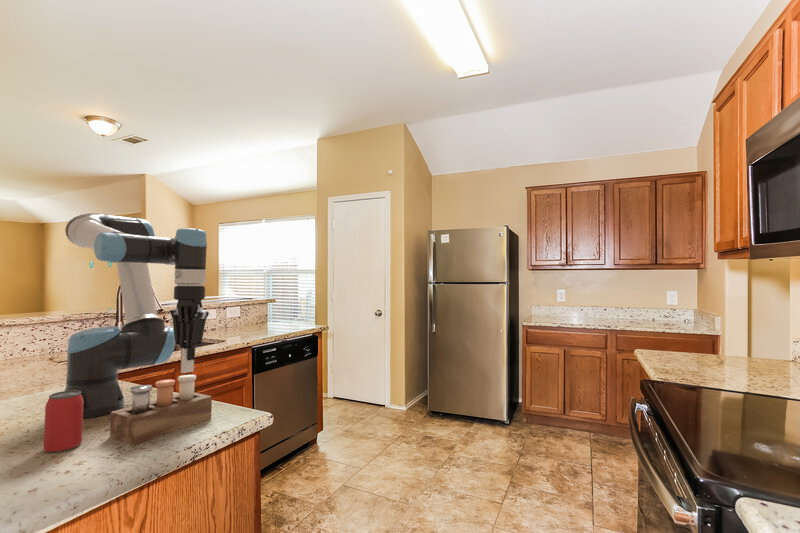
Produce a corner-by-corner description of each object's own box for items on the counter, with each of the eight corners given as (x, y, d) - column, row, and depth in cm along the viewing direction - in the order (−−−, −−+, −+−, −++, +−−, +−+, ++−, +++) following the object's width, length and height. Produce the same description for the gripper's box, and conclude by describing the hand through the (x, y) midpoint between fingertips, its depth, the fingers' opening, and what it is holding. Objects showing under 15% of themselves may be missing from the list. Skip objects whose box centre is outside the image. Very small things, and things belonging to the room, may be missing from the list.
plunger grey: (125, 416, 94) (126, 388, 94) (144, 411, 98) (145, 384, 98) (136, 419, 92) (137, 390, 93) (155, 414, 96) (156, 386, 96)
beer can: (59, 455, 84) (61, 399, 84) (35, 452, 85) (37, 396, 86) (89, 442, 90) (91, 390, 91) (66, 440, 92) (68, 388, 92)
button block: (109, 437, 94) (110, 412, 94) (187, 412, 112) (188, 391, 112) (134, 445, 89) (135, 419, 89) (211, 418, 107) (211, 396, 107)
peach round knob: (150, 409, 100) (151, 382, 100) (167, 404, 104) (168, 378, 104) (161, 412, 98) (162, 384, 98) (178, 407, 102) (179, 380, 102)
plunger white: (173, 402, 105) (174, 377, 105) (188, 398, 109) (189, 374, 109) (183, 405, 103) (184, 379, 103) (199, 400, 107) (199, 375, 107)
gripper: (161, 284, 107) (158, 371, 106) (193, 285, 101) (190, 377, 100) (187, 284, 113) (184, 366, 112) (218, 285, 108) (215, 371, 107)
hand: (187, 371), depth 106 cm, fingers closed
